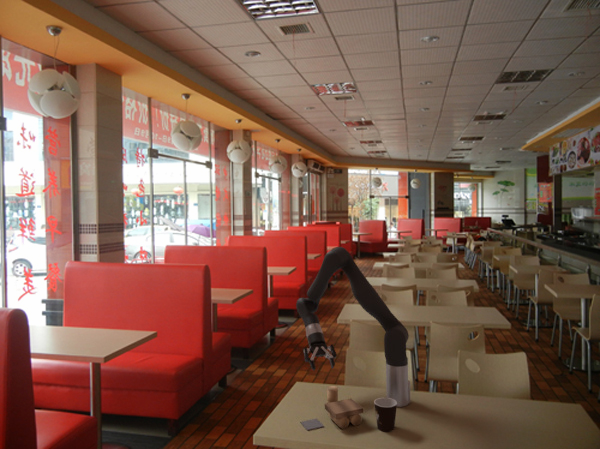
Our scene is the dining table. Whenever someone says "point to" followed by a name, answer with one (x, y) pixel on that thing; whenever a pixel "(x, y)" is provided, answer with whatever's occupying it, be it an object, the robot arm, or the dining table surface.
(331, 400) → the roller
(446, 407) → the dining table surface
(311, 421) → the mat
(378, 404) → the coffee mug
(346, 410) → the slab
